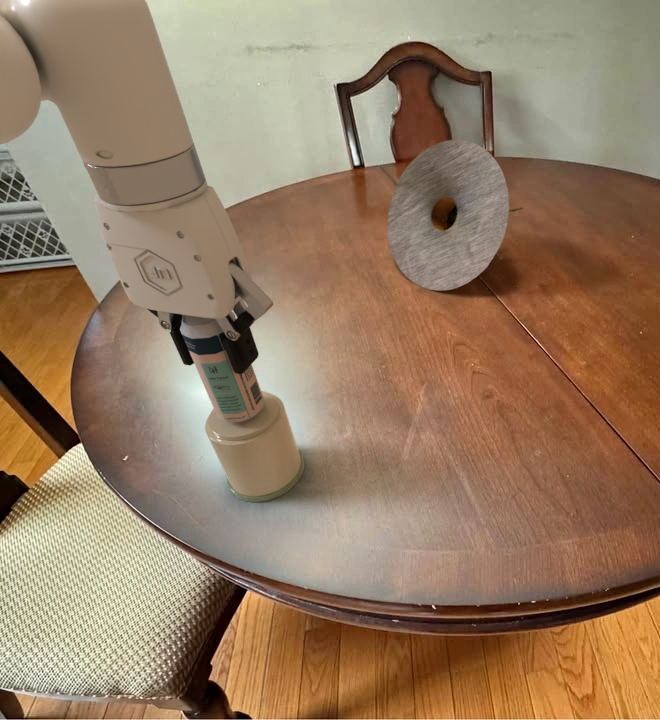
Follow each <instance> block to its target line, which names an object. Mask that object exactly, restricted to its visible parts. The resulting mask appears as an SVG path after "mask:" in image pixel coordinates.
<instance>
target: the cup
mask: <svg viewBox="0 0 660 720" xmlns="http://www.w3.org/2000/svg"><path fill="white" fill-rule="evenodd" d="M261 392H262V395H263V397H264V401H265V402H264V406H263V408H262V409H261V410H260V412H259V413H258V414H257V415H255V416H254V417H252V418H250V419H248V420H245V421H242V422H234V423H229V422H225V421H222V420H221V419H219V418H218V417H217V415H216V412H215V410H214V408H213V409H212V410H211V411H210V413H209V414H208V416H207V419H206V421H205V425H204V430H205V433H206V436H207V438H208V441H209V443H210V444H211V446H212V449H213V451H214V453H215V455H216V457H217V460H218V462H219V464H220V466H221V468H222V470H223V473H224V474H225V476H226V482H227V486H228V487H229V490H230V492H231V493H232V494H233V496H235V498H238V499H239V500H241V501H245V502H249V503H261V502H262V503H263V502H267V501H271V500H274V499H276V498H279V497H281V496H283V495H285V494H286V493H288V492H289V491H290V490H292V489H293V487H295V486H296V485H297V484H298V482H299V481H300V480H301V478H302V476H303V474H304V471H305V460H304V457H303V454H302V452H301V450H300V449H299V446H298V444H297V440H296V438H295V435H294V432H293V428H292V425H291V422H290V420H289V417H288V416H289V415H288V413H287V410H286V407H285V404H284V402H283V400H281V399H280V397H279V396H277V395H275V394H273V393H271V392H267V391H264V390H261Z"/></svg>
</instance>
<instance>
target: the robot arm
mask: <svg viewBox="0 0 660 720" xmlns="http://www.w3.org/2000/svg"><path fill="white" fill-rule="evenodd" d="M44 101H49V102H52V103H53V104H54V105H55V106H56V107H57V109H58V111H59V113H60V115H61V117H62V119H63V122H64V124H65V125H66V128H67V130H68V132H69V135H70V136H71V139H72V141H73V143H74V145H75V148H76V150H77V152H78V154H79V156H80V158H81V160H82V162H83V166H84V168H85V170H86V171H87V174H88V176H89V178H90V180H91V182H92V184H93V186H94V189H95V190H96V195H95V196H94V199H93V200H94V206H95V211H96V212H95V213H96V216H97V217H96V218H97V221H98V225H99V228H100V232H101V235H102V238H103V241H104V244H105V246H106V249H107V250H106V251H107V252H108V255H109V257H110V260H111V262H112V265H113V267H114V270H115V272H116V275H117V277H118V278H119V281H120V284H121V286H122V288H123V290H124V292H125V294H126V297H128V299H129V301H130V302H131V303H132V304H134V305H135V306H137V307H139V308H142V309H145V310H147V311H148V312H150V313H151V314H152V315H154V316H155V317H156V318H158V323H159V326H160V327H161V328H162V329H163V330H165V331H169V334H170V337H171V339H172V341H173V345H174V346H175V348H176V350H177V353H178V355H179V357H180V359H181V362H182V364H183V365H185V366H192V365H195V364H194V361H193V359H192V357H191V354H190V352H189V350H188V348H187V345H186V343H185V341H184V338H183V336H182V334H181V331H180V327H181V323H182V315H189V316H196V317H203V318H211V319H216V321H217V323H218V324H219V326H220V327H221V329H222V330H223V332H224V334H225V335H226V336H227V337H226V338H225V339H224V340H223V345H224V347H225V350H226V353H227V355H228V358H229V361H230V363H231V366H232V368H233V371H234V372H235V373H236V374H243V373H244V372H245V371H246V370H247V368H248V367H249V366H250V365H251V364H252V365H253V363H254V362H256V360H257V359H258V357H259V350H258V346H257V344H256V342H255V338H254V336H253V332H252V329H251V327H252V325H253V324H254V323H255V322H256V321H257V320H259V319H260V318H261V317H262V316H264V315H265V314H266V313H267V312H268V311H269V310H270V309H272V307H273V306H274V301H273V299H272V298H271V297H270V296H269V295H268V294H267V293H266V292H264V290H263V289H261V288H260V287H259V285H258V284H256V282H255V281H254V280H253V278H252V277H253V276H252V273H251V270H250V266H249V263H248V260H247V258H246V255H245V252H244V249H243V246H242V244H241V241H240V239H239V236H238V234H237V232H236V230H235V227H234V224H233V223H232V221H231V218H230V216H229V214H228V212H227V210H226V208H225V206H224V204H223V203H222V200H221V199H220V197H219V196H218V194H217V191H216V190H215V188H214V187H213V186H211V185H208V182H207V179H206V176H205V175H206V174H205V172H204V170H203V166H202V164H201V160H200V157H199V154H198V151H197V149H196V145H195V142H194V139H193V136H192V133H191V131H190V128H189V127H190V126H189V123H188V121H187V118H186V114H185V112H184V109H183V106H182V103H181V100H180V97H179V94H178V90H177V88H176V85H175V82H174V79H173V75H172V73H171V70H170V67H169V64H168V60H167V58H166V54H165V52H164V49H163V45H162V42H161V39H160V36H159V34H158V30H157V28H156V23H155V21H154V18H153V16H152V13H151V11H150V7H149V5H148V2H147V1H146V0H0V146H1V145H4V144H8V143H10V142H12V141H13V140H15V139H17V138H19V137H21V136H22V135H23V134H24V133H26V131H28V130H29V129H30V127H31V126H32V125H33V124H34V123H35V120H36V119H37V117H38V115H39V111H40V108H41V102H44ZM231 311H232V312H233V313H234V315H235V317H236V320H235V321H234V322H233V320H232V318H231V317H230V315H229V312H231Z"/></svg>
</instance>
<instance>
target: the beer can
mask: <svg viewBox="0 0 660 720" xmlns="http://www.w3.org/2000/svg"><path fill="white" fill-rule="evenodd" d="M229 315H230V317H231V318H232V320H233V322H234V321H235V320H236V319H237V317H236V314H235V313H234V311H233V310H232V311H231V312H229ZM180 331H181V334H182V336H183V338H184V341H185V343H186V345H187V348H188V350H189V352H190V354H191V357H192V359H193V361H194V364H193V365H194V366H195V368H196V371H197V373H198V375H199V378H200V379H201V382H202V384H203V387H204V389H205V391H206V393H207V396H208V398H209V401H210V403H211V405H212V407H213V409H214V410H215V412H216V415H217V417H218V418H219V419H221V420H222V421H225V422H229V423H234V422H242V421H245V420H248V419H250V418H252V417H254V416H255V415H257V414H258V413H259V412H260V410H261V409H262V408H263V406H264V402H265V401H264V397H263V395H262V392H261V391H262V390H261V387H260V384H259V381H258V378H257V375H256V373H255V370H254V368H253V363H252V364H251V365H250V366H249V367H248V368H247V370H246V371H245V372H244V373H243V374H236V373H235V372H234V371H233V368H232V366H231V363H230V361H229V358H228V355H227V353H226V350H225V347H224V345H223V340H224V339H225V338H226V337H227V336H226V335H225V334H224V332H223V330H222V329H221V327H220V326H219V324H218V323H217V321H216V319H211V318H203V317H196V316H189V315H182V323H181V327H180Z"/></svg>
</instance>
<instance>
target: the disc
mask: <svg viewBox="0 0 660 720" xmlns="http://www.w3.org/2000/svg"><path fill="white" fill-rule="evenodd" d="M509 197H510V196H509V189H508V184H507V181H506V177H505V174H504V172H503V170H502V168H501V166H500V165H499V163H498V161H497V160H496V159H495V157H494V156H493V155H492V154H491V153H490V152H489V151H487V149H485V148H484V147H482V146H481V145H479V144H477V143H475V142H472V141H470V140H464V139H450V140H449V139H448V140H444V141H441V142H438V143H436V144H435V143H434V144H433V145H431V146H429V147H428V148H426V149H424V150H423V151H421V152H420V153H419V154H418V155H416V157H414V158H413V159H412V161H410V163H408V165H407V166H406V168H405V169H404V170H403V172H402V174H401V175H400V177H399V179H398V181H397V183H396V185H395V187H394V190H393V192H392V197H391V199H390V201H389V202H390V203H389V207H388V212H387V238H388V239H387V240H388V244H389V249H390V252H391V255H392V258H393V260H394V261H395V263H396V265H397V267H398V268H399V270H400V271H401V272H402V274H403V275H404V276H405V277H406V278H407V279H408V280H409V281H411V282H412V283H413V284H416V286H419V287H421V288H423V289H426V290H431V291H439V292H441V291H450V290H455V289H458V288H460V287H462V286H464V285H467V284H468V283H469V282H471V281H473V280H474V279H476V278H477V277H478V276H479V275H480V274H482V273H483V272H484V271H485V270H486V269H487V268H488V266H489V265H490V263H491V262H492V260H493V259H494V258H495V259H499V260H502V261H503V260H504V258H503V256H501V255H500V254H499V253H498V251H499V249H500V247H501V245H502V243H503V240H504V238H505V234H506V231H507V227H508V221H509V213H514V212H517V211H520V210H523V209H524V208H523V207H521V206H520V207H518V208H511V209H510V198H509Z"/></svg>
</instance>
